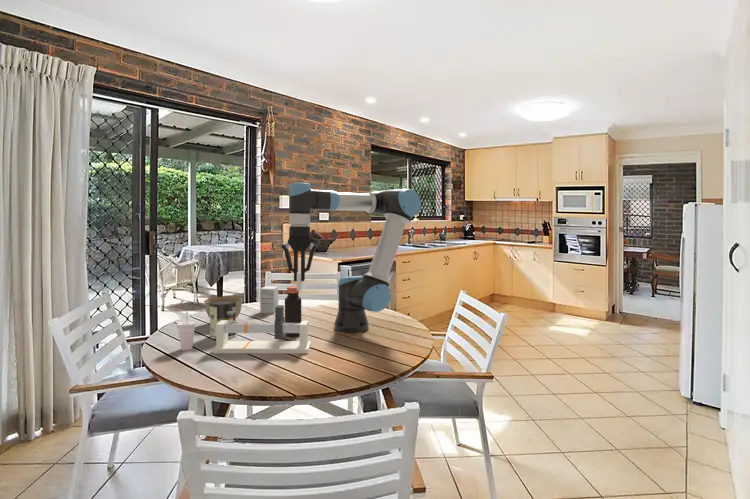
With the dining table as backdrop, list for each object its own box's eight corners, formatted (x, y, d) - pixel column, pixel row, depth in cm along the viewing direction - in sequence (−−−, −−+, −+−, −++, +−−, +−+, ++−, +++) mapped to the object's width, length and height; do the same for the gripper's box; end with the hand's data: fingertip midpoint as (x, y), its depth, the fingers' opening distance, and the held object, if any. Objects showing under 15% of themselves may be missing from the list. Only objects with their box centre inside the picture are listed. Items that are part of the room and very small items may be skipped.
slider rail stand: (311, 345, 164) (311, 319, 163) (307, 353, 154) (307, 326, 154) (221, 344, 163) (221, 318, 162) (212, 353, 153) (211, 325, 152)
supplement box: (265, 310, 223) (264, 285, 222) (278, 310, 222) (278, 286, 221) (259, 313, 215) (259, 288, 214) (274, 313, 215) (273, 288, 214)
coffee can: (241, 333, 179) (240, 300, 178) (228, 340, 169) (227, 305, 168) (219, 331, 181) (218, 298, 180) (204, 338, 171) (204, 303, 170)
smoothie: (184, 352, 153) (183, 314, 152) (173, 349, 157) (172, 311, 156) (199, 348, 159) (199, 310, 158) (189, 345, 162) (188, 308, 161)
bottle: (281, 334, 178) (281, 287, 176) (294, 331, 183) (294, 285, 181) (291, 338, 173) (291, 289, 172) (304, 334, 178) (304, 287, 176)
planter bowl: (235, 328, 186) (235, 303, 186) (198, 327, 187) (198, 303, 186) (247, 319, 203) (247, 296, 202) (213, 318, 203) (213, 296, 202)
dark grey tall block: (284, 334, 162) (284, 304, 161) (281, 339, 155) (281, 308, 154) (278, 334, 162) (277, 304, 161) (274, 339, 155) (274, 308, 154)
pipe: (303, 331, 160) (303, 322, 160) (302, 333, 157) (302, 324, 157) (224, 330, 159) (224, 322, 159) (222, 333, 156) (222, 324, 156)
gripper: (318, 225, 159) (318, 288, 161) (283, 225, 159) (283, 288, 161) (316, 226, 152) (316, 292, 154) (279, 225, 151) (279, 291, 153)
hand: (299, 290), depth 157 cm, fingers closed
